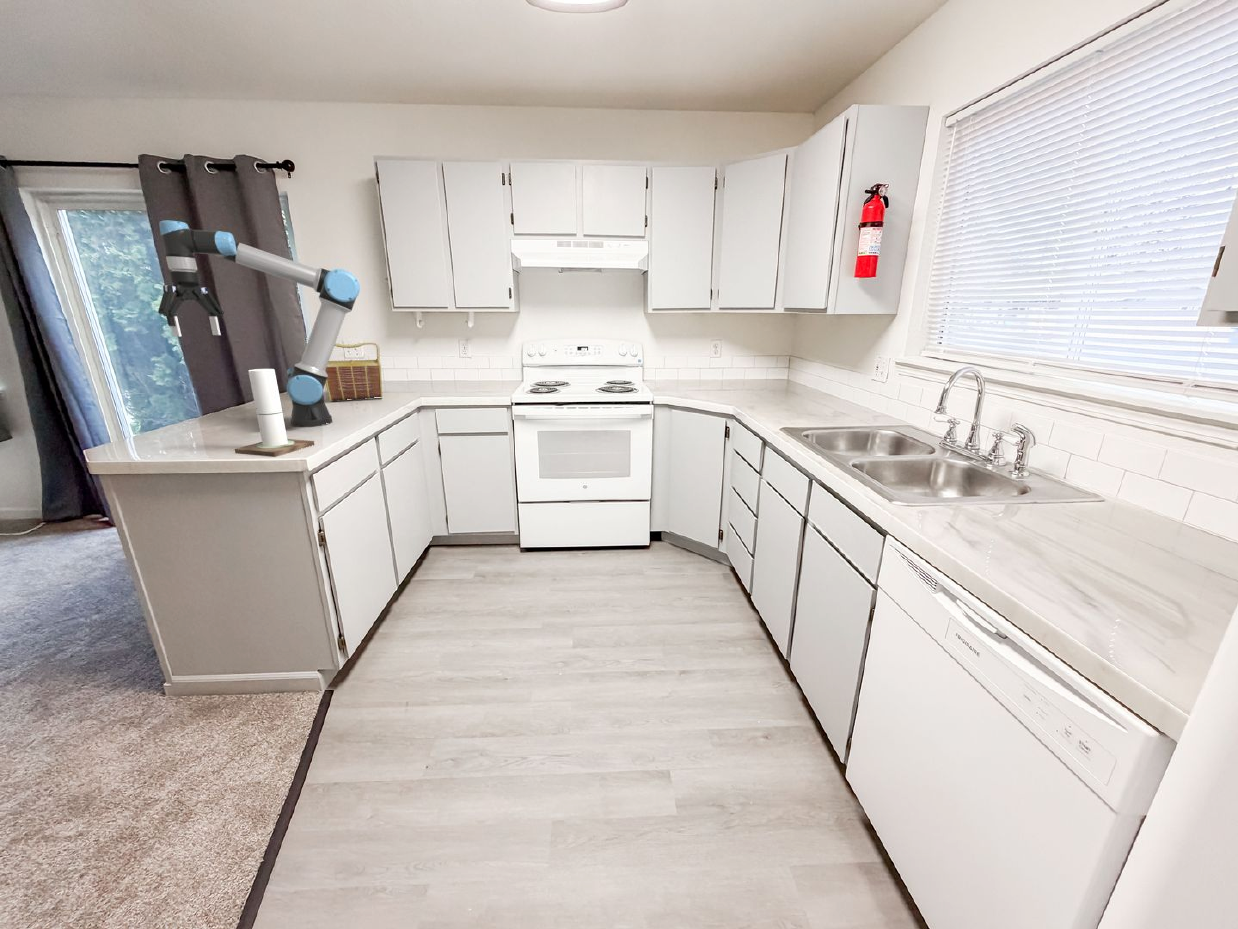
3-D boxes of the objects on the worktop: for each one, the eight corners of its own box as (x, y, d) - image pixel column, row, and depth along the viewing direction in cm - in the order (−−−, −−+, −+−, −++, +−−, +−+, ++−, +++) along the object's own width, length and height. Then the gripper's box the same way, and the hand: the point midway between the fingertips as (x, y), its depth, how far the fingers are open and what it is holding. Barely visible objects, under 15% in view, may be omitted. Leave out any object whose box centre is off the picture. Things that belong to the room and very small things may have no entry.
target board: (277, 442, 180) (276, 437, 180) (314, 445, 177) (313, 440, 176) (235, 453, 166) (234, 448, 165) (274, 456, 162) (273, 451, 161)
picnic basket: (325, 404, 256) (315, 344, 248) (326, 397, 278) (317, 341, 270) (387, 400, 270) (380, 343, 261) (383, 394, 291) (377, 341, 283)
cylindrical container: (283, 440, 176) (270, 368, 169) (291, 443, 171) (277, 369, 164) (259, 444, 170) (245, 369, 163) (267, 447, 166) (252, 371, 159)
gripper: (211, 274, 182) (223, 334, 188) (133, 267, 159) (150, 336, 165) (227, 274, 180) (239, 334, 187) (151, 267, 157) (167, 337, 163)
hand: (197, 335), depth 176 cm, fingers open, 13 cm apart
